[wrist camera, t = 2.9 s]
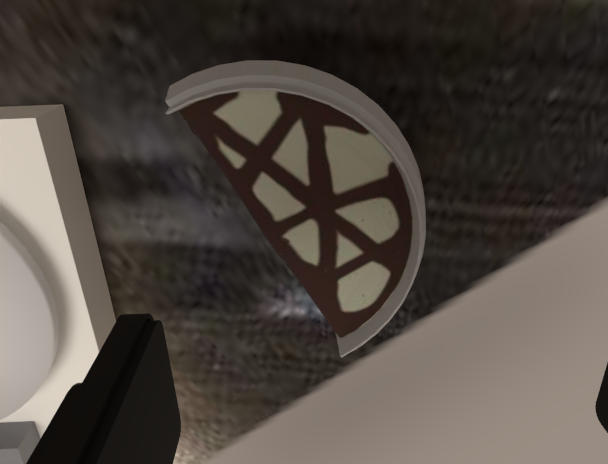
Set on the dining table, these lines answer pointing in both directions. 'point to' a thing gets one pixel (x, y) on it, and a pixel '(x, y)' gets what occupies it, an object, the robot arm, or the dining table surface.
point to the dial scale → (44, 276)
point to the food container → (316, 182)
